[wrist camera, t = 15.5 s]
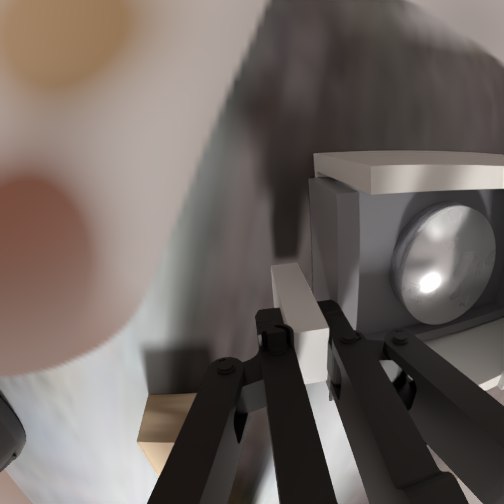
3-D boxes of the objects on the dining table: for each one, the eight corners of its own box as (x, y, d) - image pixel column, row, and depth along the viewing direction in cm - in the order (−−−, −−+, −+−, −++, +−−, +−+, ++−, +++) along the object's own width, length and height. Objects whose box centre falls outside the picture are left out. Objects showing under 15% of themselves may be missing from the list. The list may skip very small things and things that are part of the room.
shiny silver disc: (384, 320, 20) (394, 335, 19) (393, 203, 17) (408, 210, 16) (470, 301, 20) (483, 312, 19) (485, 199, 18) (502, 205, 16)
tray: (313, 349, 21) (332, 399, 16) (308, 178, 17) (336, 194, 12) (495, 305, 22) (530, 334, 17) (514, 172, 18) (560, 186, 13)
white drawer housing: (319, 354, 22) (353, 445, 14) (313, 153, 18) (377, 167, 10) (497, 309, 23) (554, 359, 15) (518, 155, 18) (598, 176, 10)
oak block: (165, 432, 25) (158, 476, 20) (148, 394, 23) (136, 441, 18) (220, 430, 25) (219, 476, 20) (209, 392, 23) (206, 441, 18)
